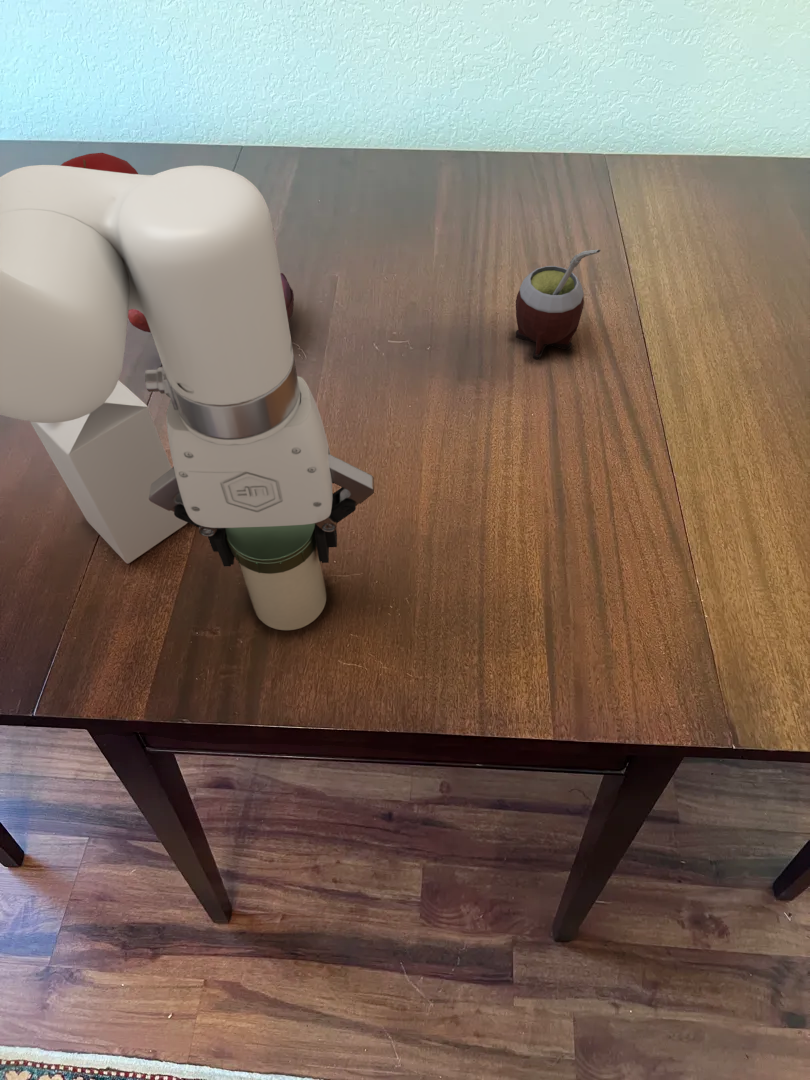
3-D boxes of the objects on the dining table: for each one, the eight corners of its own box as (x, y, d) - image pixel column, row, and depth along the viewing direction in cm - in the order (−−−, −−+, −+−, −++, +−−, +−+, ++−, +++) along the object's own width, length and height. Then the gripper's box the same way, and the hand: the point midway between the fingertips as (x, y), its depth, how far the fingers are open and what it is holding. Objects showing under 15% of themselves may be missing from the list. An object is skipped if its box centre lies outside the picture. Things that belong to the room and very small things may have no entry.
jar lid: (287, 587, 58) (283, 573, 56) (212, 552, 60) (206, 537, 58) (335, 522, 61) (332, 507, 60) (262, 490, 63) (258, 475, 62)
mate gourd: (521, 315, 90) (538, 192, 77) (588, 330, 88) (617, 207, 76) (502, 356, 86) (517, 234, 73) (572, 373, 84) (599, 251, 72)
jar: (252, 634, 66) (228, 565, 57) (253, 570, 70) (230, 497, 61) (328, 627, 66) (315, 557, 58) (324, 564, 70) (312, 490, 61)
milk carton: (150, 479, 76) (82, 322, 60) (193, 521, 73) (133, 367, 57) (86, 521, 73) (-3, 367, 58) (128, 566, 70) (46, 417, 55)
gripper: (79, 434, 45) (161, 594, 60) (379, 423, 45) (388, 585, 60) (103, 347, 49) (174, 516, 64) (377, 337, 50) (385, 508, 64)
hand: (277, 548), depth 62 cm, fingers closed on jar lid, 6 cm apart
